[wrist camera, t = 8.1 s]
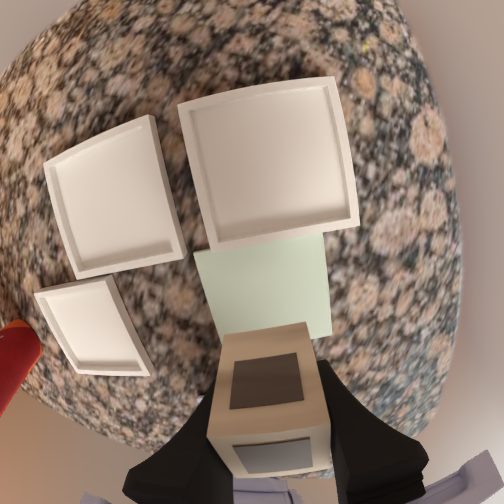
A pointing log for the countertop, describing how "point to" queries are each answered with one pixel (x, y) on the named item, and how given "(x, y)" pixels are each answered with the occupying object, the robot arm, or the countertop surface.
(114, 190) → the dish
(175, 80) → the countertop surface
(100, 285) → the dish
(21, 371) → the paper cup
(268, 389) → the letter block
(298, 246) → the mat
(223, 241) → the dish
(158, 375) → the countertop surface
